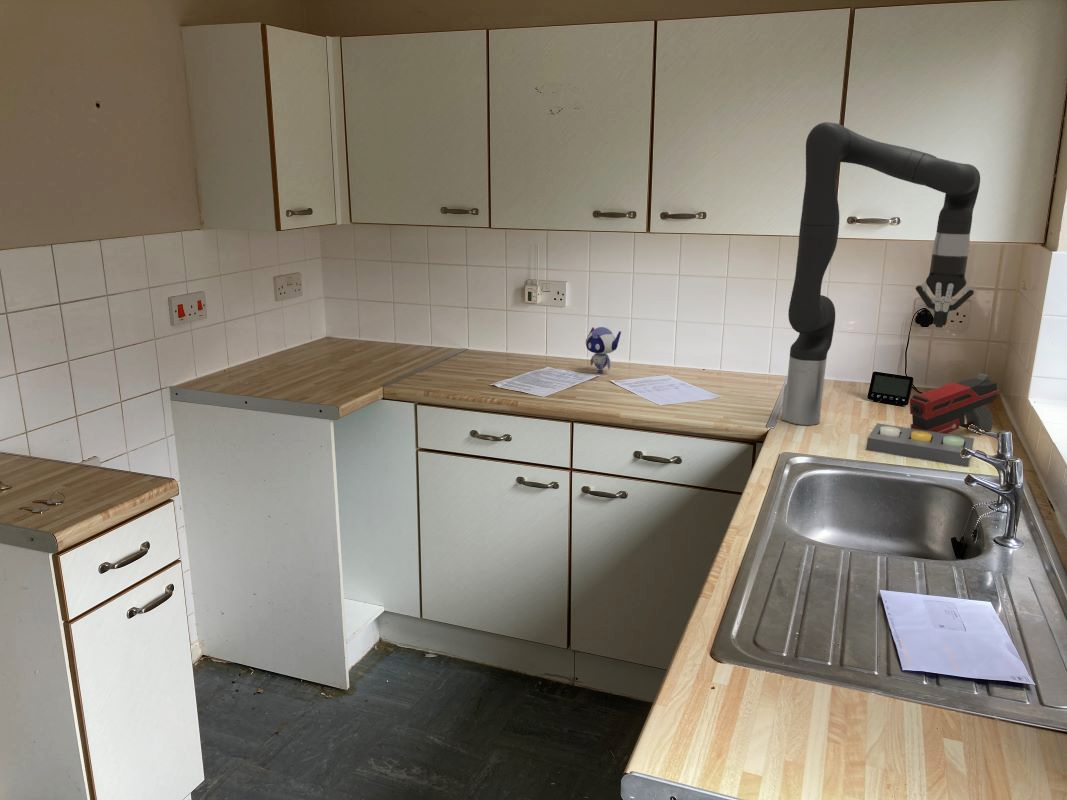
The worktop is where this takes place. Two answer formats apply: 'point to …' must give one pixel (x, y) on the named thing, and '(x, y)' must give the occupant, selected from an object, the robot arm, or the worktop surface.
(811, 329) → the robot arm
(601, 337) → the toy
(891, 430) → the button ivory
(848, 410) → the worktop surface
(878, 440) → the panel
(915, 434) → the button amber
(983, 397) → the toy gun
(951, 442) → the button sage
